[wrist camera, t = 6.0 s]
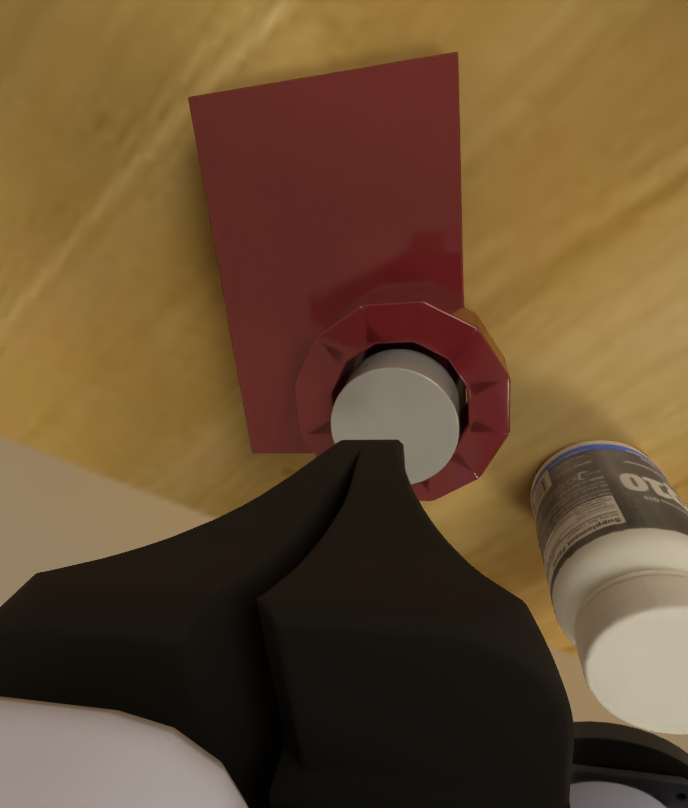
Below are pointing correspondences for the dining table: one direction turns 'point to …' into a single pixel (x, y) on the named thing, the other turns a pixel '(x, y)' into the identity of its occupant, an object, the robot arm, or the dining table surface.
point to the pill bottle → (619, 577)
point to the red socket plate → (346, 249)
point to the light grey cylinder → (401, 408)
